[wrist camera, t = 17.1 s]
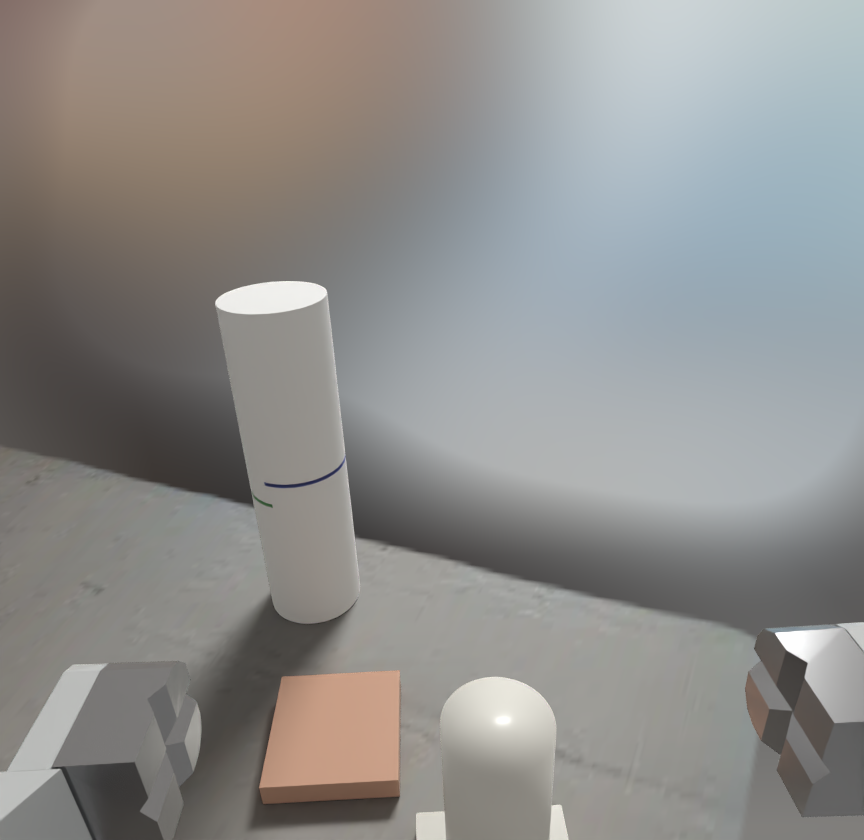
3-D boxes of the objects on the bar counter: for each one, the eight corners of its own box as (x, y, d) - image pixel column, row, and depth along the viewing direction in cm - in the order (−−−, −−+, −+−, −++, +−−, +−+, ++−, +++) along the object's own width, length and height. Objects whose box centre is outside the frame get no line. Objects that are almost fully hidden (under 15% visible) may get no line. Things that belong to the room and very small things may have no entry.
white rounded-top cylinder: (449, 948, 31) (440, 783, 26) (444, 840, 36) (435, 678, 30) (557, 942, 31) (570, 775, 26) (538, 834, 36) (546, 671, 30)
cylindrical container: (342, 629, 52) (300, 316, 40) (257, 616, 53) (193, 311, 42) (371, 569, 58) (342, 282, 46) (294, 559, 59) (247, 279, 48)
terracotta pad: (263, 804, 39) (259, 787, 39) (284, 692, 46) (281, 676, 46) (399, 796, 40) (398, 780, 39) (400, 686, 47) (399, 670, 46)
